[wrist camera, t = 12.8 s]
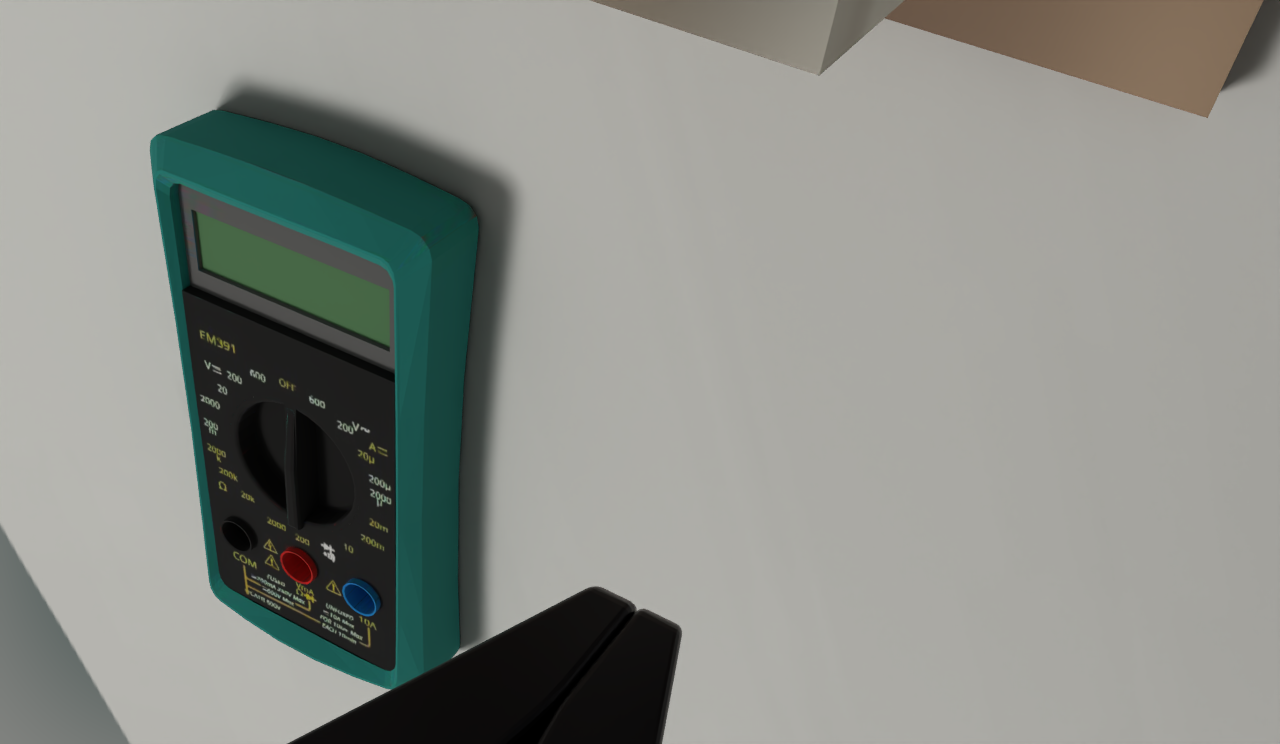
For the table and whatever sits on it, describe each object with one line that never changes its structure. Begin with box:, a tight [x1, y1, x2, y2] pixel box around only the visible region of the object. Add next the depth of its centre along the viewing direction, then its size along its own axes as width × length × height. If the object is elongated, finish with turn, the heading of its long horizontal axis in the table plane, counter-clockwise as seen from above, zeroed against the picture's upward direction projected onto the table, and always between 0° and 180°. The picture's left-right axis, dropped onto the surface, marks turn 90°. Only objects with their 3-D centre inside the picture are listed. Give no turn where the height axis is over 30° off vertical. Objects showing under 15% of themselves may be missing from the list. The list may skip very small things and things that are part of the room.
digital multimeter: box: [150, 110, 479, 689], centre depth 28 cm, size 7×15×3 cm, turn 174°
